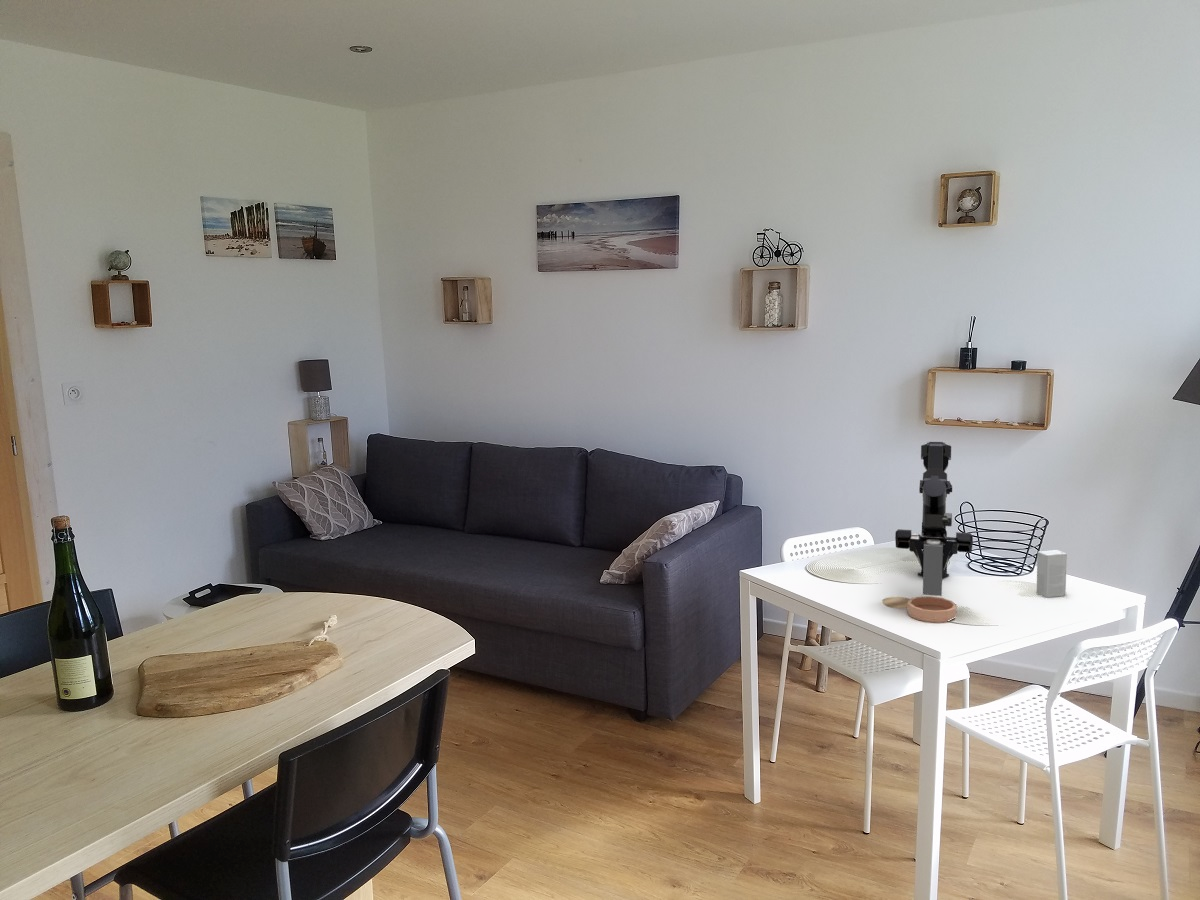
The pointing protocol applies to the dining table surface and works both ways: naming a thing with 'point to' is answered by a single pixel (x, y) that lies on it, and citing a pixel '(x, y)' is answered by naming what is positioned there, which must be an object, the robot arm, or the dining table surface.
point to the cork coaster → (896, 602)
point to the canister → (932, 567)
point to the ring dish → (931, 609)
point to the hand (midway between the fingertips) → (932, 569)
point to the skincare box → (1051, 573)
